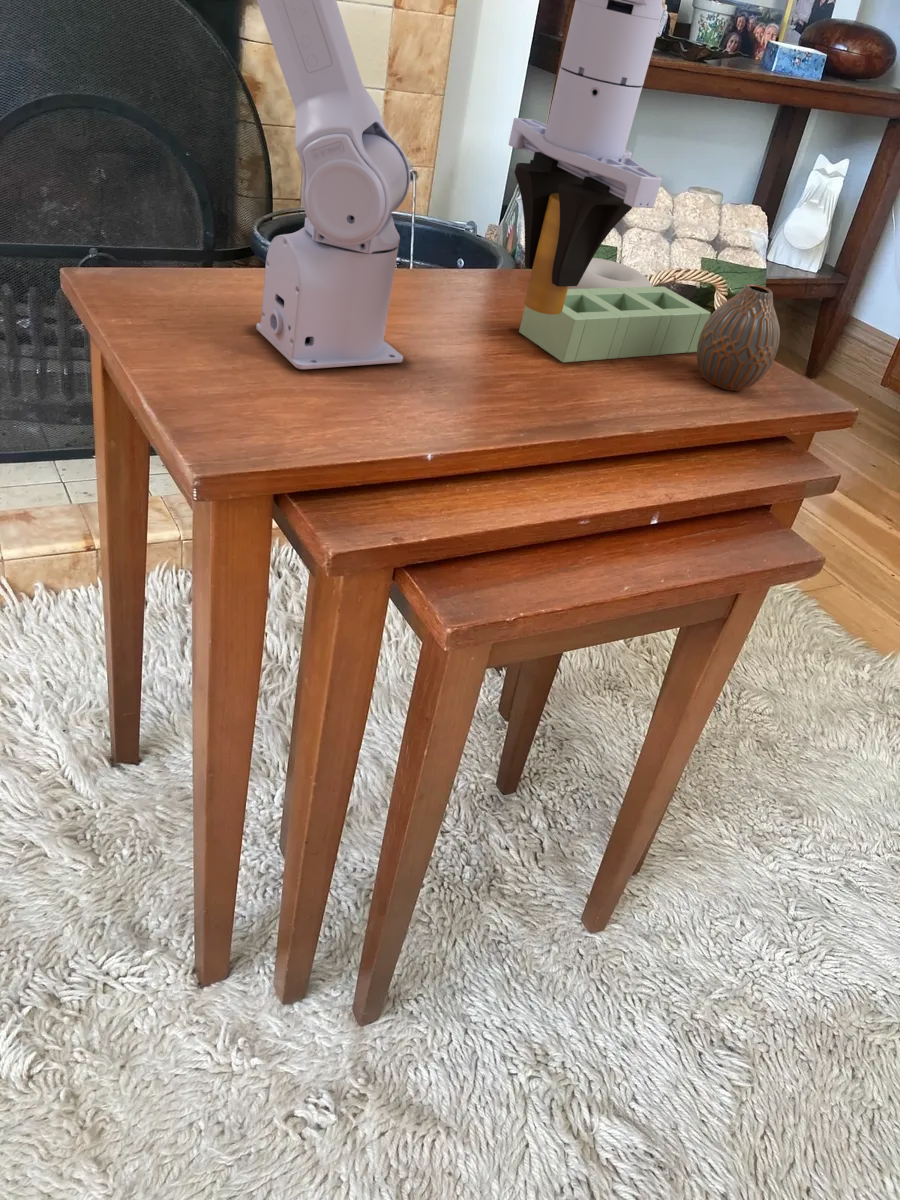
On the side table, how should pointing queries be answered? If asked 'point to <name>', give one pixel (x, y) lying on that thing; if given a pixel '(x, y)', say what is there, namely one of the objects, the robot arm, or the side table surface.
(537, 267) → the peg
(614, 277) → the donut
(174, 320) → the side table surface
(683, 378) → the side table surface
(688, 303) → the peg block
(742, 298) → the vase
